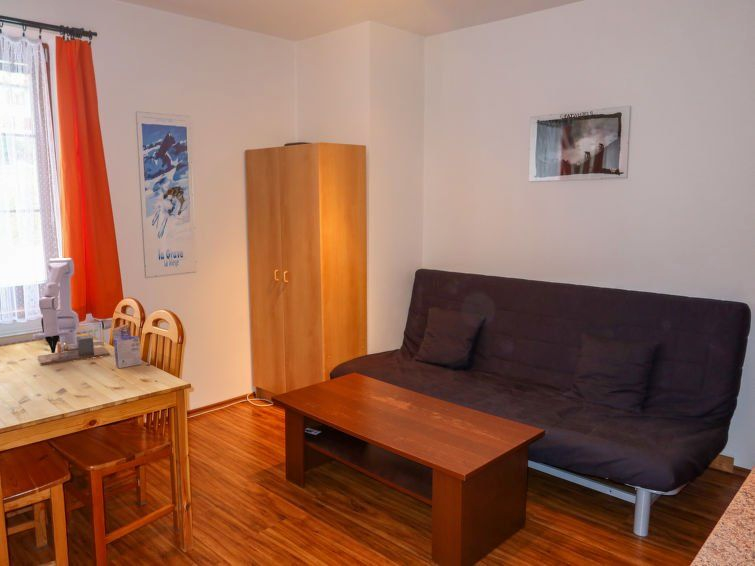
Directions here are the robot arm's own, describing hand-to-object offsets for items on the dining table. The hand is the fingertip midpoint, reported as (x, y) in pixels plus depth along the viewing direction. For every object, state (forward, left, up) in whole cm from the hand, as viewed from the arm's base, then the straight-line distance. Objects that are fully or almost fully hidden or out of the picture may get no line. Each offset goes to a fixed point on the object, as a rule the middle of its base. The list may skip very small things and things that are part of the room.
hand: (53, 352), depth 270 cm
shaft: (0, +11, -1) cm, 11 cm away
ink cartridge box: (+29, +26, -4) cm, 39 cm away
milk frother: (-40, +6, -4) cm, 40 cm away
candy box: (+19, +26, -4) cm, 33 cm away
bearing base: (0, +8, -3) cm, 9 cm away
